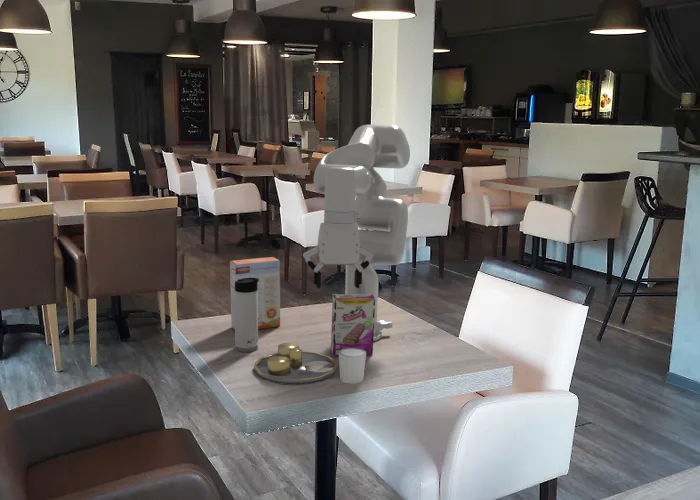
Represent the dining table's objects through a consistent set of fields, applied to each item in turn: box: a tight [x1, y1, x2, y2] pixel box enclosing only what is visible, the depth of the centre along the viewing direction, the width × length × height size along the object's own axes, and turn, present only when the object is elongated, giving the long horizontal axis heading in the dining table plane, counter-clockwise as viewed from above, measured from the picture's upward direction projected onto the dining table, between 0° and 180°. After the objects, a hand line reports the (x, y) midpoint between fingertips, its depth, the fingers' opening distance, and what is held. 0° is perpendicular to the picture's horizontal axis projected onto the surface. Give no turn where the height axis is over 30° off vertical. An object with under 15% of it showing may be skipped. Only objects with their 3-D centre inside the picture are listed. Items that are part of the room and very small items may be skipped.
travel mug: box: [234, 278, 259, 353], centre depth 190 cm, size 6×7×20 cm
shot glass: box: [338, 348, 367, 384], centre depth 171 cm, size 7×7×7 cm
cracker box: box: [229, 256, 281, 331], centre depth 209 cm, size 14×6×21 cm, turn 117°
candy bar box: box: [330, 293, 375, 357], centre depth 188 cm, size 11×5×16 cm, turn 100°
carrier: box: [253, 342, 338, 386], centre depth 177 cm, size 21×21×5 cm
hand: (337, 287), depth 171 cm, fingers open, 9 cm apart
